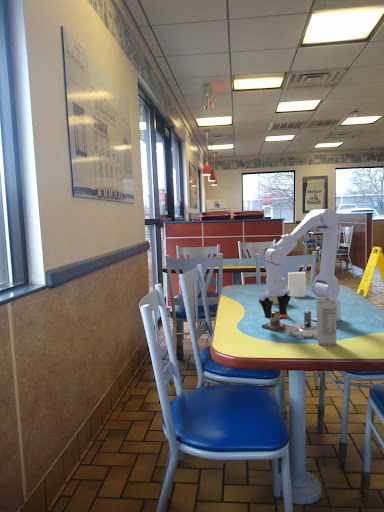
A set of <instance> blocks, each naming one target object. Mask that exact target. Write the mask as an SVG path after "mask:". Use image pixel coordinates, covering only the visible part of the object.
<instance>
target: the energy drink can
mask: <svg viewBox="0 0 384 512" xmlns="http://www.w3.org/2000/svg"><path fill="white" fill-rule="evenodd" d="M336 318H337V304H336V302H335V300H334V298H332V297H319V300H318V302H317V321H316V326H317V338H316V341H317V342H318V344H319V345H320V346H324V347H333V346H335V344H336V343H337V321H336Z"/></svg>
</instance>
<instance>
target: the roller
mask: <svg viewBox="0 0 384 512" xmlns="http://www.w3.org/2000/svg"><path fill="white" fill-rule="evenodd" d="M269 321H270V322H269V323H270V325H271V326H280V323H281V318H280V312H279V310H271V318H270V319H269Z"/></svg>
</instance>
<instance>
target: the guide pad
mask: <svg viewBox="0 0 384 512" xmlns="http://www.w3.org/2000/svg"><path fill="white" fill-rule="evenodd" d="M286 326H290V325H289V324H285V323H282V322H280V326H271V325H270V322H268V323H264V324H262V325H261V328H263V329H266V330H269V331H273V332H279V331H282V330H285V327H286Z"/></svg>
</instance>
